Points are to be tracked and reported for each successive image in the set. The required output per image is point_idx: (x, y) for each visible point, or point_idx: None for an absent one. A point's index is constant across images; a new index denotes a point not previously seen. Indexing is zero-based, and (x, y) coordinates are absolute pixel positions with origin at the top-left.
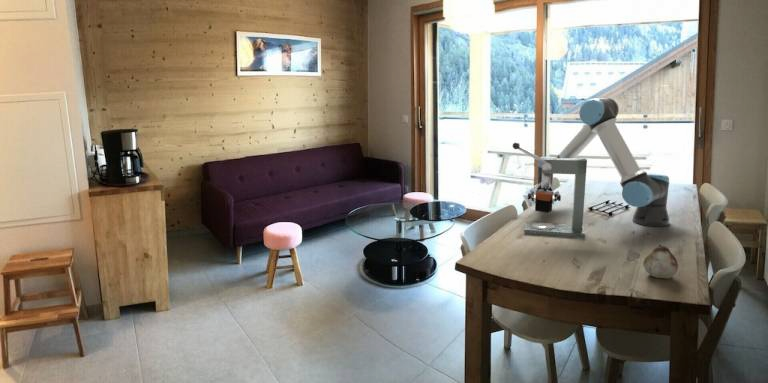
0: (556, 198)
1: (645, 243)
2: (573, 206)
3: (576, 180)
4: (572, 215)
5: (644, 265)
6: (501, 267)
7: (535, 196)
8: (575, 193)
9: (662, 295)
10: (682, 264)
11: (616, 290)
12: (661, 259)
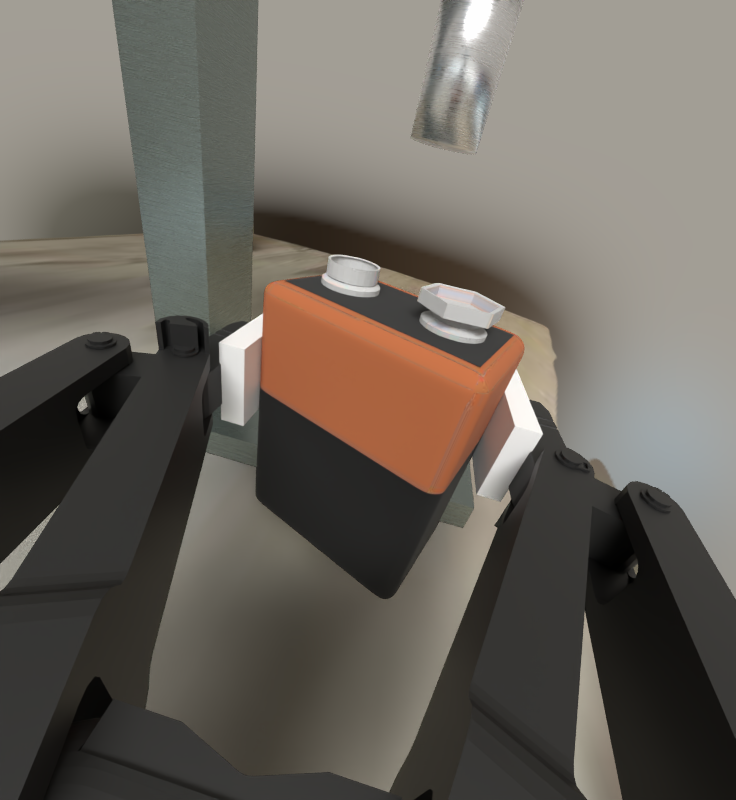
0: (238, 322)
1: (25, 290)
2: (235, 242)
3: (251, 3)
4: (213, 323)
5: (253, 231)
6: None
7: None
8: (250, 131)
9: (270, 241)
10: (119, 244)
11: (322, 255)
12: None
